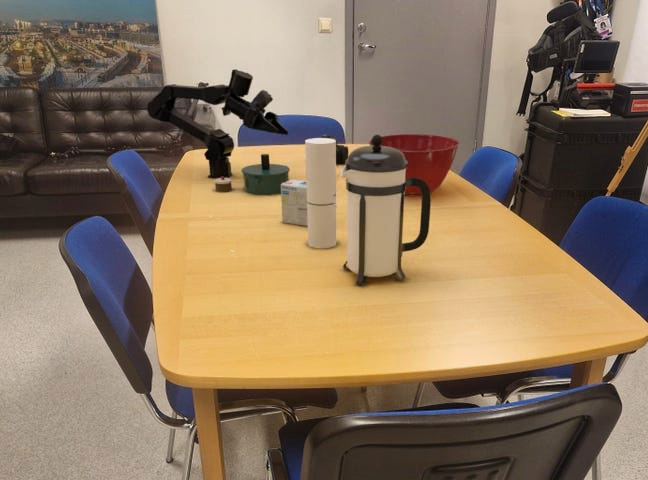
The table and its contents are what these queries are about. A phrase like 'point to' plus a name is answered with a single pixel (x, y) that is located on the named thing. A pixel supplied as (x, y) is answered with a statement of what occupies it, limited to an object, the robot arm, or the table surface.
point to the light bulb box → (294, 202)
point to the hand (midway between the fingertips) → (282, 132)
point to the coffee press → (379, 210)
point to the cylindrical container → (321, 192)
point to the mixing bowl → (424, 157)
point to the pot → (264, 184)
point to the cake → (223, 184)
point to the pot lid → (265, 168)
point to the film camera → (339, 151)
